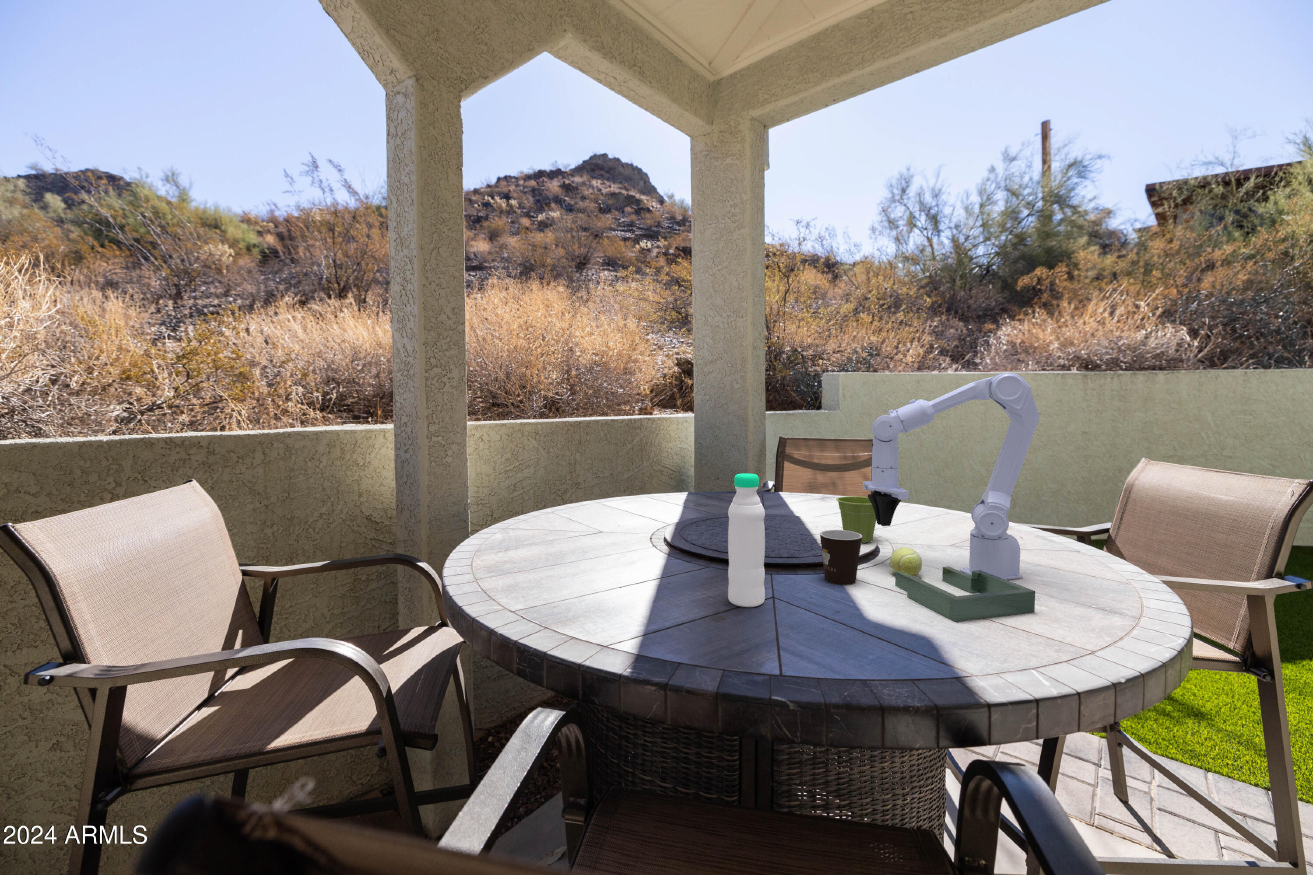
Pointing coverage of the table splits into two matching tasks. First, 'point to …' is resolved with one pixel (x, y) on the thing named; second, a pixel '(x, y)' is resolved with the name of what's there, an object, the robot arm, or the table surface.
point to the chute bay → (992, 601)
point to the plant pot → (858, 516)
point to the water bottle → (746, 544)
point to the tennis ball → (906, 561)
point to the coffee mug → (840, 555)
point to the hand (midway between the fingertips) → (883, 525)
